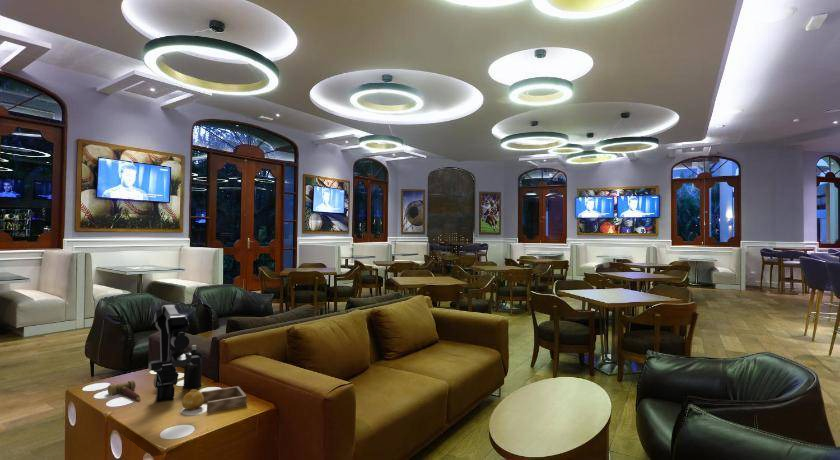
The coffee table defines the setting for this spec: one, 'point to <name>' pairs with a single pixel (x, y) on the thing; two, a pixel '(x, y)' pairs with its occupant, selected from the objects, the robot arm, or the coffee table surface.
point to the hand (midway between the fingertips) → (174, 383)
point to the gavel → (124, 389)
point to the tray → (224, 403)
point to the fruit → (193, 400)
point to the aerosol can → (194, 372)
